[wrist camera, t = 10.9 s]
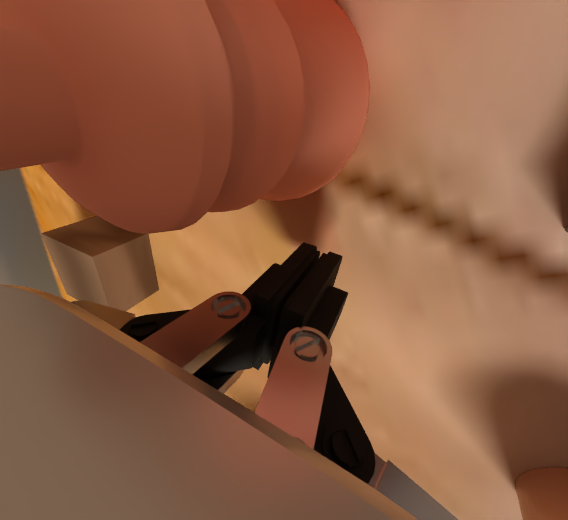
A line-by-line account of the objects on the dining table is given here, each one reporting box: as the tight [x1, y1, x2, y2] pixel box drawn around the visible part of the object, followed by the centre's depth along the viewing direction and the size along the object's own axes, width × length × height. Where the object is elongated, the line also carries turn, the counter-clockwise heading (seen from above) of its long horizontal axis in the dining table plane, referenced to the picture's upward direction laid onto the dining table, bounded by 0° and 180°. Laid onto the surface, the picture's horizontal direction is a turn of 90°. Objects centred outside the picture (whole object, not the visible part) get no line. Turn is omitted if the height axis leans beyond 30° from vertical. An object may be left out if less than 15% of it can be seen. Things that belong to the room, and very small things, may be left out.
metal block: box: [41, 216, 159, 311], centre depth 19 cm, size 5×5×4 cm
